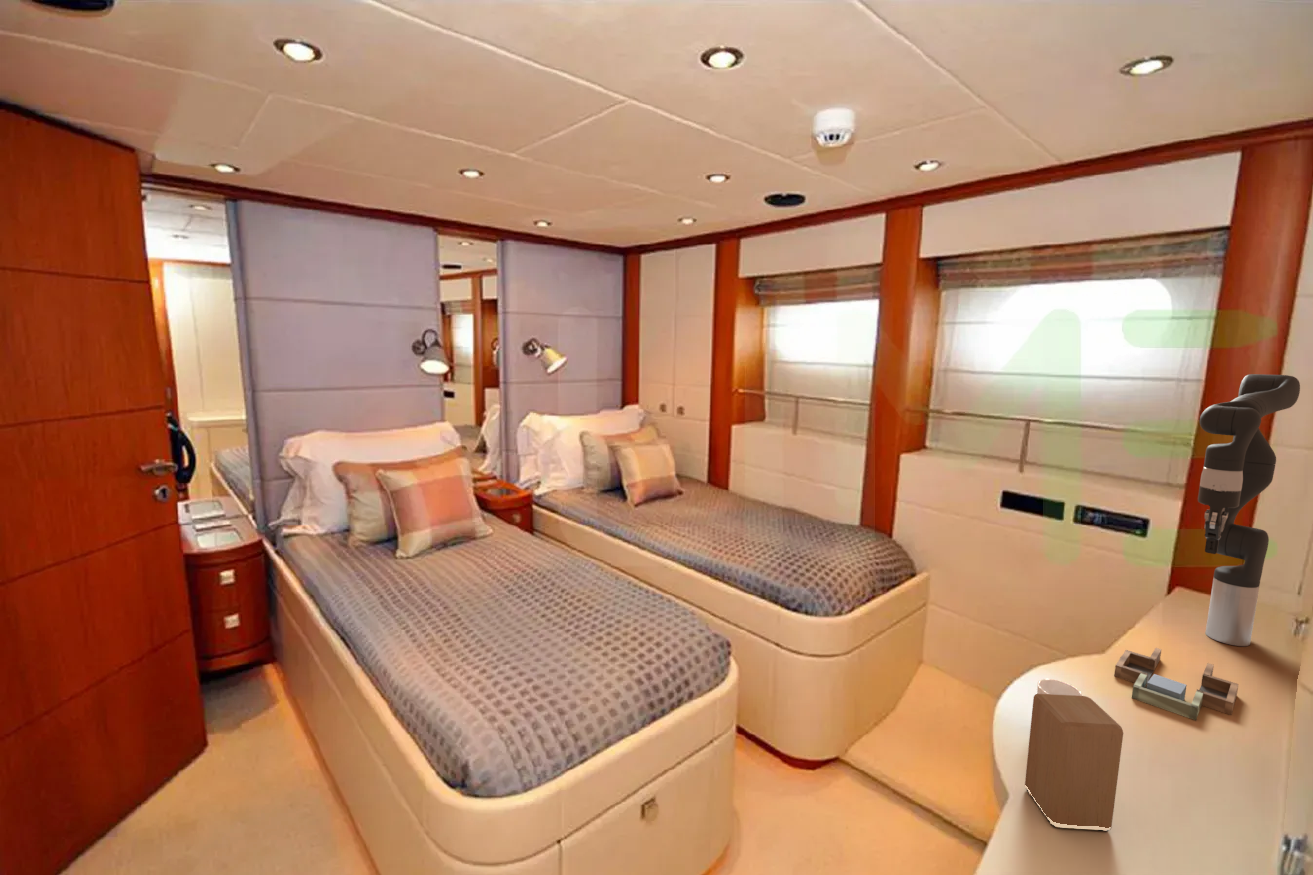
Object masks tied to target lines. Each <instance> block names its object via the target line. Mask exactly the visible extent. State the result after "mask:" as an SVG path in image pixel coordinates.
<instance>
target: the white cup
mask: <svg viewBox="0 0 1313 875" xmlns="http://www.w3.org/2000/svg"><path fill="white" fill-rule="evenodd" d="M1036 690H1037V692H1036V694H1055V695H1076V696H1083V693H1081V690H1079V689H1078V688H1077V687H1075V686H1073V685H1072V684H1070V683H1067V682H1064V681H1061V680H1058V679H1052V678H1045V679H1044V678H1043V679H1041V680H1038V682H1037V689H1036Z"/></svg>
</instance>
